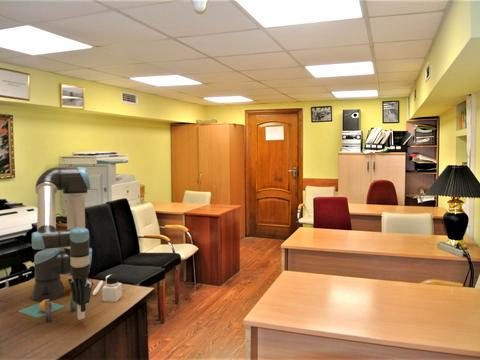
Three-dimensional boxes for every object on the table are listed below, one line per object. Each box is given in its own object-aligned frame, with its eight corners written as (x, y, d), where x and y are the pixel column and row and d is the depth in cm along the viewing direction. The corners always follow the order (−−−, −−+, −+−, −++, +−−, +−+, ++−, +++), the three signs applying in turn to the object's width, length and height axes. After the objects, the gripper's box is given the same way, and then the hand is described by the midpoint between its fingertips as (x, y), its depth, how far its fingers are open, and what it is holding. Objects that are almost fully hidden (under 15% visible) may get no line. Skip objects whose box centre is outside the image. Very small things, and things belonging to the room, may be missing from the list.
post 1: (44, 321, 167) (43, 301, 166) (49, 319, 169) (48, 299, 169) (48, 323, 166) (47, 302, 165) (53, 320, 168) (52, 300, 167)
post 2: (69, 311, 178) (68, 292, 177) (74, 308, 180) (73, 290, 180) (73, 312, 177) (72, 293, 176) (77, 310, 179) (77, 291, 178)
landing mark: (17, 311, 177) (17, 310, 177) (45, 300, 189) (45, 300, 189) (37, 318, 170) (37, 317, 170) (64, 306, 183) (64, 306, 183)
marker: (95, 296, 196) (95, 292, 196) (91, 297, 196) (91, 292, 195) (103, 284, 214) (103, 280, 214) (99, 284, 213) (99, 280, 213)
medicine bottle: (122, 296, 196) (121, 273, 195) (116, 302, 189) (115, 278, 188) (108, 295, 197) (108, 272, 196) (102, 301, 190) (101, 277, 188)
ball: (46, 309, 173) (41, 316, 175) (57, 304, 178) (51, 311, 180) (40, 299, 174) (35, 306, 176) (51, 295, 179) (45, 301, 181)
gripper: (98, 265, 165) (99, 318, 167) (77, 260, 171) (78, 311, 173) (83, 269, 158) (84, 325, 161) (62, 264, 165) (63, 318, 167)
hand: (81, 318), depth 167 cm, fingers closed
